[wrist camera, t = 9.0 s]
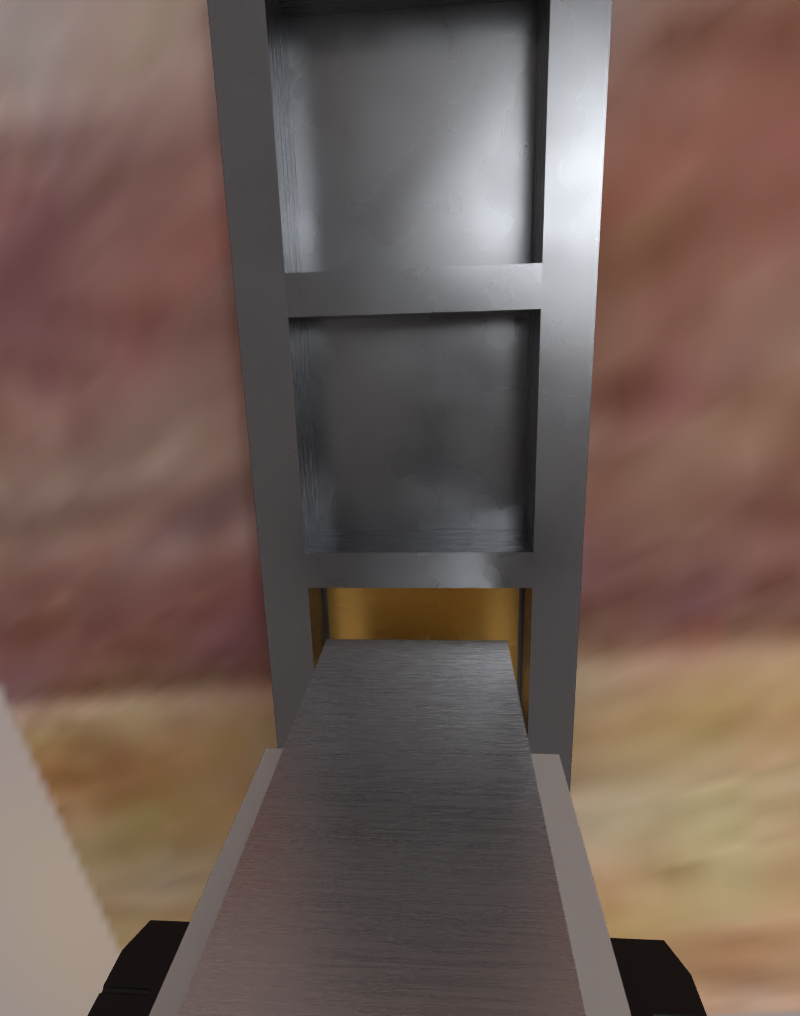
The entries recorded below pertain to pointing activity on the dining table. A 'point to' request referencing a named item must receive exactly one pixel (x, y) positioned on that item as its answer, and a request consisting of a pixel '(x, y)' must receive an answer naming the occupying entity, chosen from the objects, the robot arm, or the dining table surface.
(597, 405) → the dining table surface
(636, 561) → the dining table surface
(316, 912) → the grey block with knob
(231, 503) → the dining table surface
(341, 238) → the grey compartment tray
